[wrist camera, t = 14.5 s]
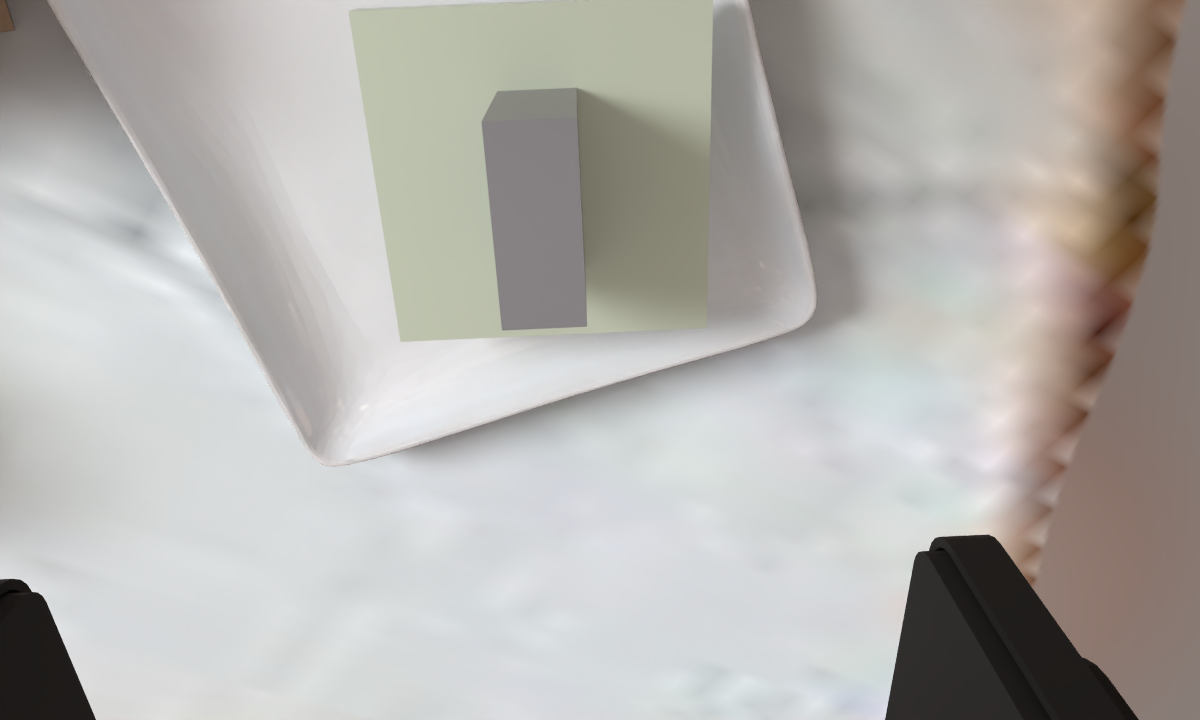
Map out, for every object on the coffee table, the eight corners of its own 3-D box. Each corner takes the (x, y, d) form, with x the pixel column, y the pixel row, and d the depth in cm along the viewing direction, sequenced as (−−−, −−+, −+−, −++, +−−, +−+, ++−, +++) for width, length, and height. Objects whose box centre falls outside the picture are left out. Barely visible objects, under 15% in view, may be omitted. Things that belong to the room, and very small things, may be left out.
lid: (357, 8, 27) (299, 25, 21) (707, -7, 27) (742, 7, 21) (406, 328, 31) (370, 411, 26) (702, 314, 31) (729, 394, 26)
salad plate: (808, 293, 35) (831, 327, 32) (338, 437, 37) (317, 482, 34) (665, -319, 26) (677, -355, 23) (56, -75, 28) (-7, -78, 25)
